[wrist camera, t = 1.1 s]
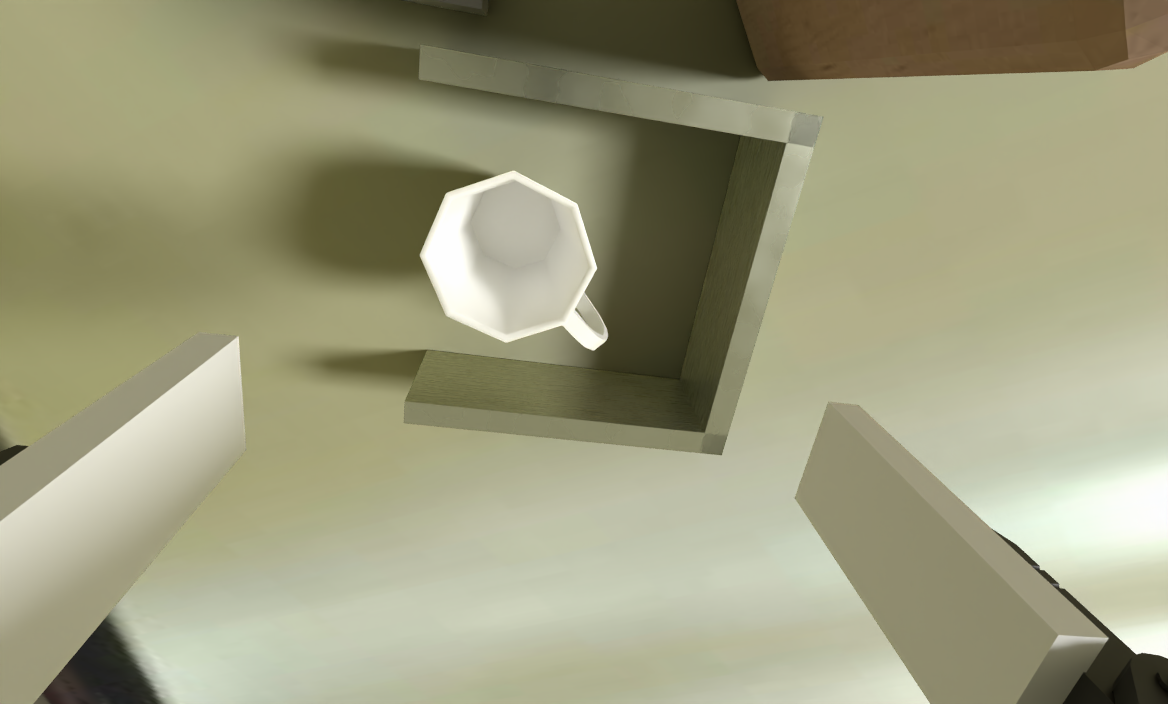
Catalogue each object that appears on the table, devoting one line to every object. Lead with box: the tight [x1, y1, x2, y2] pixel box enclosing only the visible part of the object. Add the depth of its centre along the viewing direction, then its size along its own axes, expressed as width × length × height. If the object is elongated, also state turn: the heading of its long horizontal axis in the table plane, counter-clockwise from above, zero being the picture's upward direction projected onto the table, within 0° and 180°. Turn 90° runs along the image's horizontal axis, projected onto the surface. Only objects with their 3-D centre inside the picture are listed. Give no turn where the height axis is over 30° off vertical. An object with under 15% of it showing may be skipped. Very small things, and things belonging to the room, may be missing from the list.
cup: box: [420, 171, 608, 351], centre depth 28 cm, size 7×10×8 cm
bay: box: [404, 44, 823, 455], centre depth 29 cm, size 16×16×6 cm
